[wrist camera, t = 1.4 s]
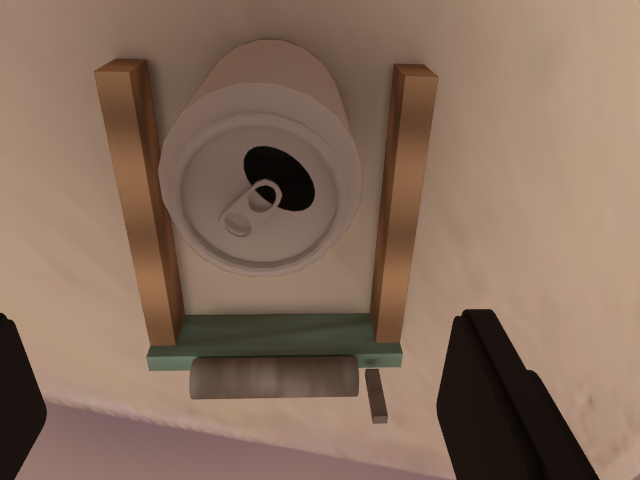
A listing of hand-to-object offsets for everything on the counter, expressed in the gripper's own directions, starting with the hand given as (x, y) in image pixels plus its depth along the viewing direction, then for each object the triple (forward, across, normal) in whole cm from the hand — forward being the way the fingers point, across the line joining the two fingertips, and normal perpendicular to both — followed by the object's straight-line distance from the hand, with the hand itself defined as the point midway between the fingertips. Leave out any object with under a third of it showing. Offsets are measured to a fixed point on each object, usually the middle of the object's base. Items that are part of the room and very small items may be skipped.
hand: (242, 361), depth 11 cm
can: (+19, 0, -1) cm, 19 cm away
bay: (+19, 0, +5) cm, 20 cm away
